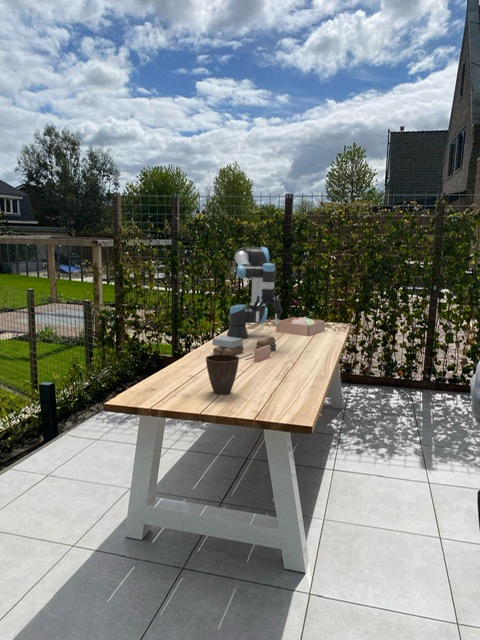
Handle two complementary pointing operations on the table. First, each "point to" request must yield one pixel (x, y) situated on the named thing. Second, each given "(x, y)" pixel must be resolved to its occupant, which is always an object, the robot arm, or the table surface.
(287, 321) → the planter
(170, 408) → the table surface
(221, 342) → the slab
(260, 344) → the roller
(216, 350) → the roller
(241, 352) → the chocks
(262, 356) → the block
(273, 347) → the rack
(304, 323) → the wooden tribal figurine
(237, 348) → the roller
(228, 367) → the plant pot
